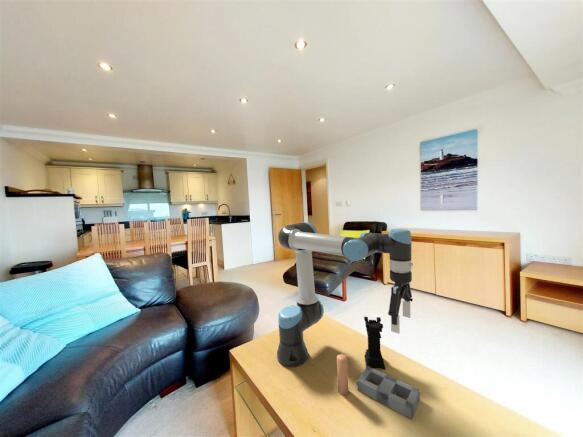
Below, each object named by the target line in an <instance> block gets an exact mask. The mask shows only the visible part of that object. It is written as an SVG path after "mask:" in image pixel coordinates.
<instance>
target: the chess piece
mask: <svg viewBox="0 0 583 437" xmlns="http://www.w3.org/2000/svg"><path fill="white" fill-rule="evenodd" d="M363 320H364V322H365V329H366V330H365V331H366V335H367V349H365V352H364V353H365V354H364V362H365V367H366V368H367V367H368V366H369V367H371V368H373V369H375V370H386V365H385V363H384V362H385V361H384V359H383V355H382V351H381V339H382V335H381V333H382V332H383V328H384V324H383V323H382V322H381V321H382V319H381V317H380V316H377V317H376V319H369V317H368V316H363ZM366 368H365V369H366Z"/></svg>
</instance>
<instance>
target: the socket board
mask: <svg viewBox="0 0 583 437" xmlns="http://www.w3.org/2000/svg"><path fill="white" fill-rule="evenodd" d="M372 382H374V383H375V384H374V383H372ZM376 384H377V385H376ZM356 387H357V388H356V390H357V391H359V392H361V393H363V394H364V395H366V396H368V397H369V398H372V399H374V400H375V401H377V402H380V403H381V404H382V405H385V406H387V407H388V408H390V409H392V410H394V411H396V412H398V413H399V414H401V415H402V416H405V417H407V419H411V420H412V419H413V417H414V416H415V413H416V410H417V407H418V406H419V405H418V404H419V402H420V399H421V398H420V395H421V394H420V389H419V388H416V387H415V386H412V385H410V384H407V383H406V382H404V381H401V380H399V379H398V378H395V377H393V376H390V375H388V374H386V373H384V372H381V370H380V371H379V370H378V369H373V368H371V367H369V366H368V367H367V368H365V369H364V371H363V372H362V373H361V375H360V376H359V377H358V378H357V380H356ZM397 394H398V395H399V396H398V395H397ZM400 396H401V397H400ZM403 397H404V398H403Z"/></svg>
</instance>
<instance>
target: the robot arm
mask: <svg viewBox="0 0 583 437" xmlns="http://www.w3.org/2000/svg"><path fill="white" fill-rule="evenodd" d="M277 240H278V243H279V244H280V245H281V246H282V247H283V248H285V249H287V250H292V251H293V252H294V253H295V254H294V255H295V264H296V266H295V267H296V274H297V275H296V276H297V289H298V290H297V291H298V297H297V298H296V305H290V306H285V307H283V308H282V309H281V310H280V311H279V313H278V315H277V316H278V319H277V320H278V321H277V323H278V332H279V334H278V335H279V343H278V349H277V351H276V352H277V353H276V357H277V358H276V359H277V362H278V363H279V364H280V365H282V366H285V367H287V368H288V367H289V368H290V367H298V366H299V367H300V366H301V365H303V364H304V363H305V362H306V361H307V360H308V356H309V355H308V354H309V353H308V352H309V351H308V348H307V346H306V344H305V341H304V332H305V331H306V330H308V329H309V328H310V327H312V326H313V325H315V324H318V322H319V321H320V320H322V319H323V316H324V313H325V312H324V305H323V304H322V302H321V300H320V299H319V297H318V296H316V288H315V276H314V264H313V254H312V252H317V253H318V252H319V253H324V254H330V255H335V256H341V257H344V258H345V259H348V260H349V261H350V262H357V261H362V260H363V259H365V258H367V257H369V256H372V255H374V254H375V253H379V254H389V269H390V270H389V279H390V281H391V282H394V285H393V286H392V287H391V288H390V300H389V306H388V307H389V308H388V311H387V315H388V316H390V329H391V330H390V331H391V332H393V333H395V334H400V332H401V331H400V330H401V329H400V328H401V327H400V325H401V324H400V315H399V313H400V309H401V305H402V317H404V318H408V319H410V318H411V302H413V296H412V288H411V284H410V283H411V282H412V280H413V279H412V278H413V277H412V276H413V274H412V266H414V263H413V262H412V242H413V241H412V233H411V231H410V230H408V229H405V228H392V229H390V230H389V231H388V233H377V232H376V233H375V232H374V233H373V232H362V233H360V235H359V236H358V237H353V236H344V235H343V236H342V235H336V234H335V235H333V234H324V233H319V232H318V230H317V228H316V227H315V225H314V224H312V223H310V222H305V221H304V222H297V223H293V224H286V225H284V226H283V227H281V229H280V230H279V232H278V236H277ZM402 299H403V300H402ZM401 303H402V304H401Z"/></svg>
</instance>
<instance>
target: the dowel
mask: <svg viewBox="0 0 583 437" xmlns="http://www.w3.org/2000/svg"><path fill="white" fill-rule="evenodd" d="M336 368H337V369H336V370H337V391H338V394H339V395H341V396H347V395H348V394H349V374H348V373H349V370H348V357H347V355H345V354H344V353H343V354H337V355H336Z"/></svg>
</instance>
